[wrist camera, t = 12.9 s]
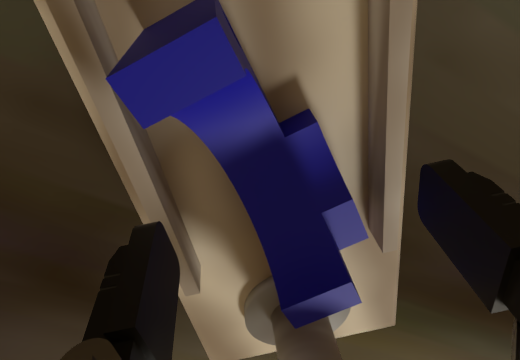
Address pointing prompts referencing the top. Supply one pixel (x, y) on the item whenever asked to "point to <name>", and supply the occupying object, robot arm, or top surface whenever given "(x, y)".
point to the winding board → (284, 106)
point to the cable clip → (251, 152)
